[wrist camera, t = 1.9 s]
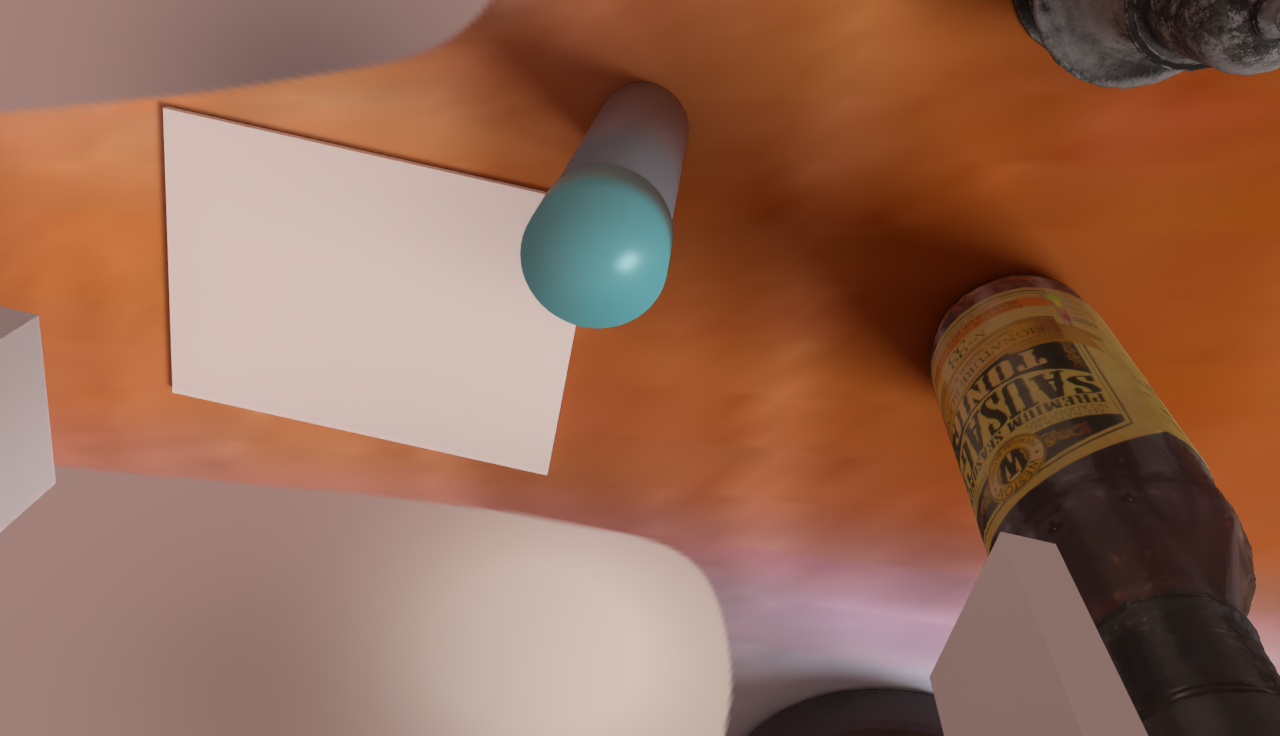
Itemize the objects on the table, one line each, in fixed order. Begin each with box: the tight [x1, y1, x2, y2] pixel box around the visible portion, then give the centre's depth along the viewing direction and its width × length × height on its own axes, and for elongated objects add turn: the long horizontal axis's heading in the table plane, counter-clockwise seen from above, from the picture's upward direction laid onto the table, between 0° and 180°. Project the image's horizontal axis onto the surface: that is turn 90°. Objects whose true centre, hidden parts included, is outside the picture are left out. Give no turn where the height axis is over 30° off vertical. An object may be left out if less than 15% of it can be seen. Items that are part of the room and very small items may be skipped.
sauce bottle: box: [930, 275, 1280, 736], centre depth 27 cm, size 6×6×20 cm
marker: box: [520, 82, 689, 328], centre depth 27 cm, size 3×3×13 cm
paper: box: [163, 106, 576, 475], centre depth 37 cm, size 12×16×1 cm
